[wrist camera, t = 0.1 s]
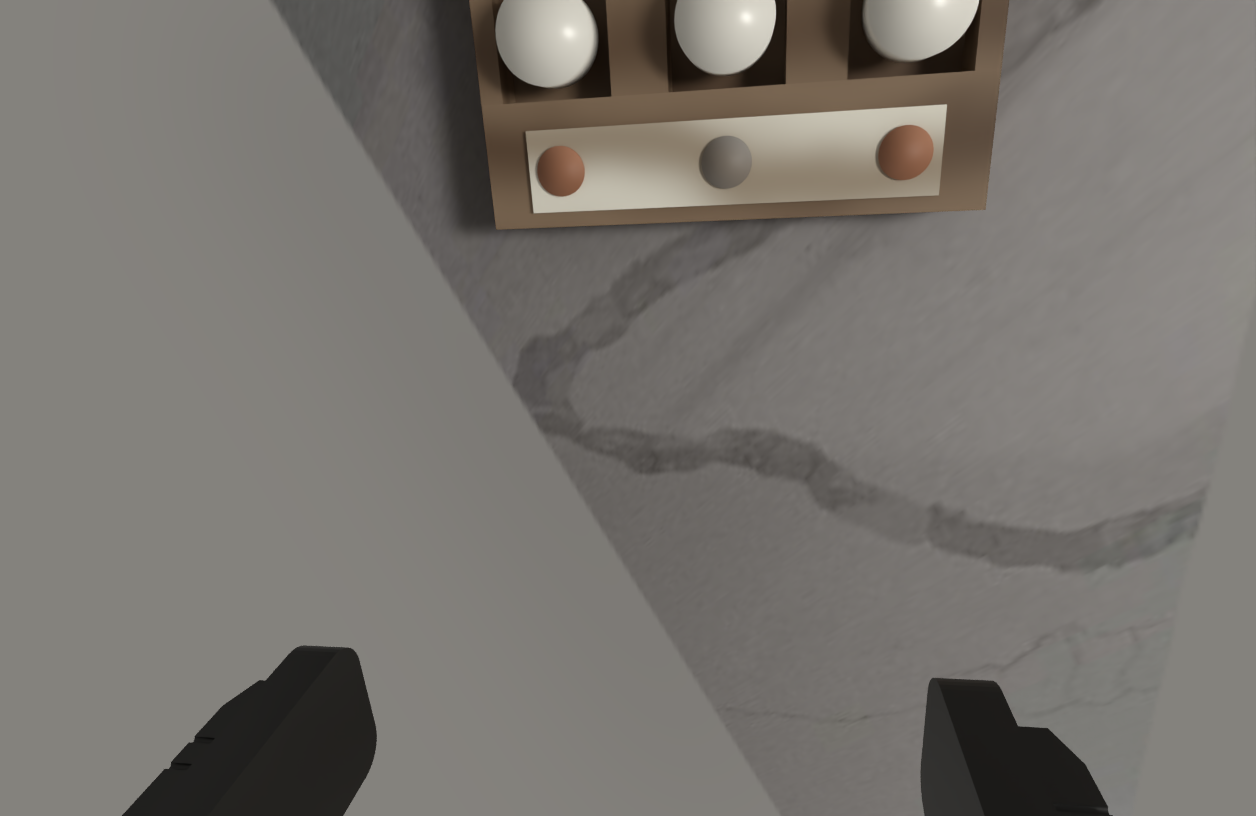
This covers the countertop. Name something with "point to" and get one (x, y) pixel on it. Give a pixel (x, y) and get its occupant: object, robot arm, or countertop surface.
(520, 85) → the button panel
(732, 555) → the countertop surface
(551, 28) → the button
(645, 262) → the countertop surface
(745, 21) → the button
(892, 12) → the button
